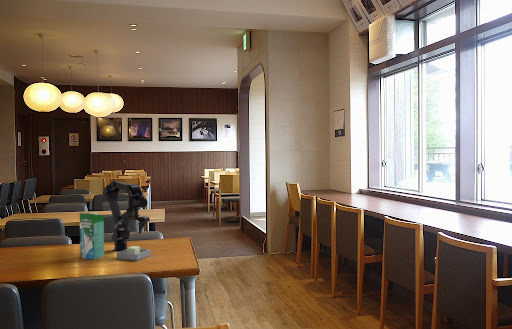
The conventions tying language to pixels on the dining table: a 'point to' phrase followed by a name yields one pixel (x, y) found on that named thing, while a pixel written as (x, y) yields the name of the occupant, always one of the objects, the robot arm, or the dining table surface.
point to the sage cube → (133, 250)
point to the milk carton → (91, 235)
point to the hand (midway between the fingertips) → (133, 233)
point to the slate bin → (133, 255)
